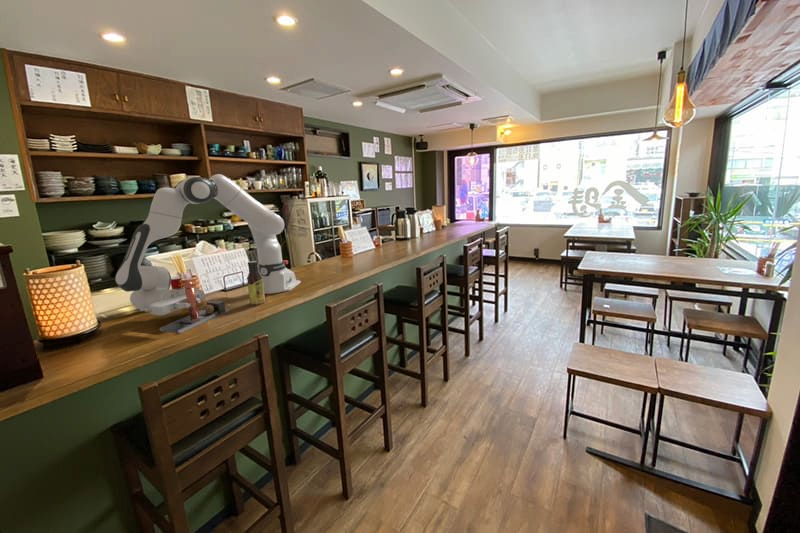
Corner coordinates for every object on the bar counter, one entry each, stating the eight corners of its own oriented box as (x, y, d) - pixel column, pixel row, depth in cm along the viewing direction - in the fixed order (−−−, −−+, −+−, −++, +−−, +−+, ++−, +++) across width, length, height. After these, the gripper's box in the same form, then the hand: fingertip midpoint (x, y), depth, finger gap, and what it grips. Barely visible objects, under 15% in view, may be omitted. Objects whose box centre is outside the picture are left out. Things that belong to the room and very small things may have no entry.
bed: (212, 310, 150) (210, 299, 149) (231, 312, 147) (229, 300, 146) (160, 334, 128) (157, 320, 127) (181, 336, 125) (178, 322, 124)
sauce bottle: (260, 308, 150) (253, 263, 146) (247, 308, 151) (240, 263, 147) (268, 303, 156) (262, 260, 152) (256, 302, 158) (250, 260, 153)
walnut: (209, 312, 145) (207, 303, 144) (217, 312, 143) (215, 303, 143) (201, 315, 141) (199, 306, 140) (209, 316, 140) (207, 307, 139)
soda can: (183, 303, 162) (178, 278, 159) (172, 303, 162) (166, 278, 159) (190, 299, 167) (186, 275, 164) (179, 299, 167) (174, 275, 165)
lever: (197, 315, 141) (189, 278, 137) (210, 316, 139) (203, 279, 135) (181, 322, 134) (173, 283, 131) (196, 323, 132) (188, 284, 128)
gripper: (139, 302, 128) (167, 304, 124) (187, 286, 147) (213, 287, 143) (143, 318, 129) (171, 321, 125) (190, 300, 148) (216, 302, 144)
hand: (194, 303), depth 134 cm, fingers closed on lever, 3 cm apart
